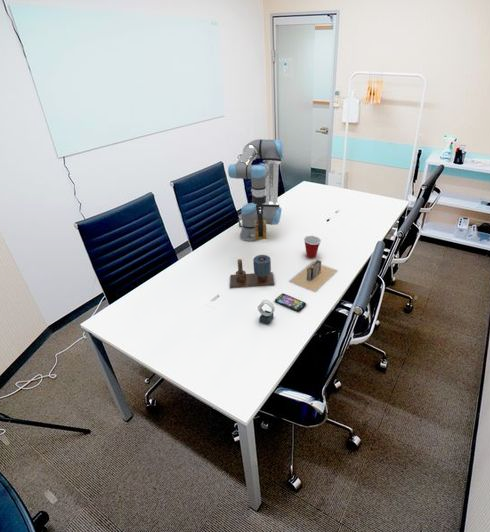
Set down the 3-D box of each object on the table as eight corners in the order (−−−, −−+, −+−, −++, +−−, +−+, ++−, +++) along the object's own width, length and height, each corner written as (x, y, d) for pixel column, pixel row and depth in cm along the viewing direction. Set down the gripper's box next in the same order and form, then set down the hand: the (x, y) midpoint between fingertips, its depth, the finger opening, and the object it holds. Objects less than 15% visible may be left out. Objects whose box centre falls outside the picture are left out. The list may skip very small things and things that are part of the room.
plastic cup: (319, 261, 206) (320, 244, 199) (301, 259, 207) (302, 242, 201) (321, 252, 215) (322, 236, 208) (304, 251, 216) (305, 234, 210)
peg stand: (230, 288, 181) (228, 266, 174) (230, 276, 190) (228, 255, 183) (274, 285, 184) (273, 263, 176) (272, 274, 193) (272, 253, 186)
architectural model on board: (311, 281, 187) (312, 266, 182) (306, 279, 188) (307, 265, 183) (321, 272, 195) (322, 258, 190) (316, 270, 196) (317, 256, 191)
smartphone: (298, 311, 163) (273, 300, 171) (298, 312, 164) (273, 301, 171) (306, 302, 169) (282, 292, 176) (306, 304, 169) (282, 294, 177)
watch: (261, 313, 163) (261, 296, 157) (276, 318, 160) (276, 300, 154) (256, 320, 159) (255, 302, 153) (271, 325, 156) (270, 307, 150)
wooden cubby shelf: (254, 234, 196) (254, 220, 191) (265, 233, 197) (265, 219, 192) (255, 239, 191) (254, 225, 186) (266, 238, 191) (266, 224, 187)
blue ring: (250, 270, 185) (250, 258, 181) (263, 265, 190) (263, 253, 186) (260, 277, 179) (260, 265, 175) (274, 271, 184) (273, 259, 180)
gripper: (251, 189, 188) (253, 226, 201) (252, 202, 172) (254, 241, 184) (264, 189, 189) (265, 226, 201) (267, 201, 173) (268, 241, 185)
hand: (260, 233), depth 193 cm, fingers closed on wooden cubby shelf, 6 cm apart
